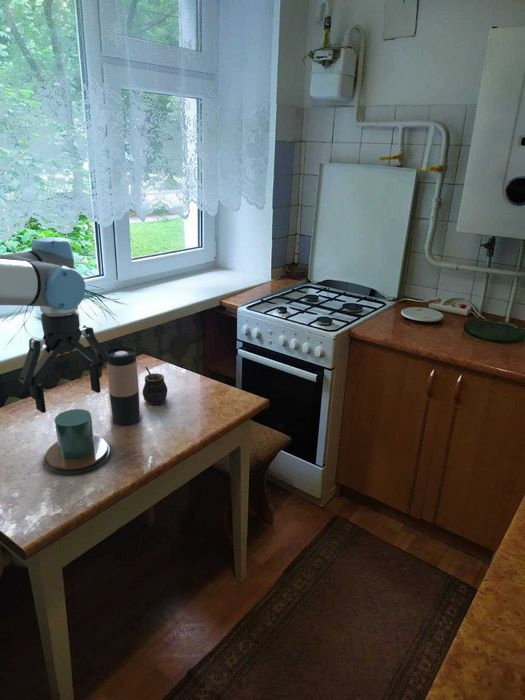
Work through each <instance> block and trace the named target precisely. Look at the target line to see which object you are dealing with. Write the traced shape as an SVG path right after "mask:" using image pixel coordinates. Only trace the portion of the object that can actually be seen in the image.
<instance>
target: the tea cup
mask: <svg viewBox="0 0 525 700" xmlns="http://www.w3.org/2000/svg"><path fill="white" fill-rule="evenodd" d="M54 424H55V433H56V440H57V441H56V442H54V443H53V444H52V445H51V446H49V448H48V449H47V450H46V453H45V454H46V461H47V463H48V464H49V465H50V466H52V467H54V468H56V469H60V470H77V469H82V468H86V467H89V466H91V465H94V464H96V463H97V462H99V461H100V460H102V459H103V458H104V457H105V455H106V454H107V451H108V445H109V444H108V445H107V443H108V442H107V441H106V440H105V439H104V438H103V437H101V436H97V435H94V429H93V419H92V413H91V412H90V411H89V410H88V409H87V410H86V409H82V408H74V409H68V410H65V411H62V412H60V413H58V414H57V415H56V416H55V418H54ZM106 442H107V443H106Z"/></svg>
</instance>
